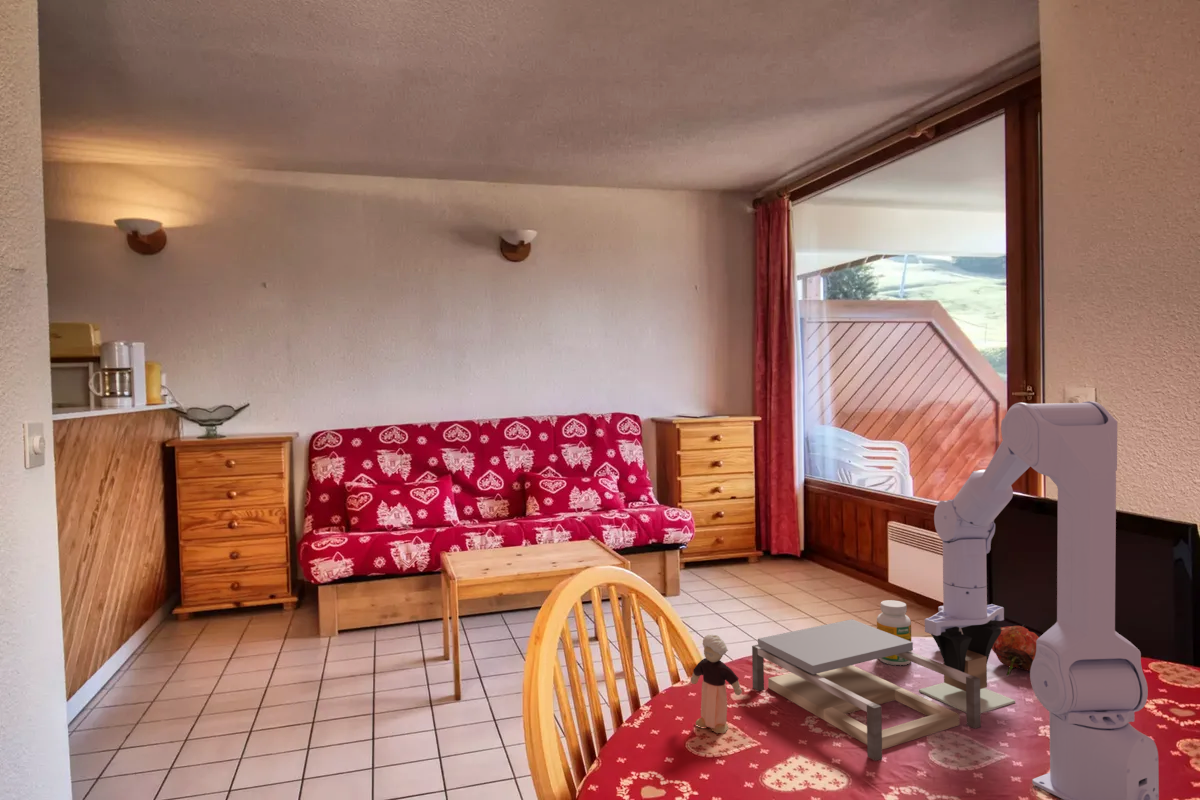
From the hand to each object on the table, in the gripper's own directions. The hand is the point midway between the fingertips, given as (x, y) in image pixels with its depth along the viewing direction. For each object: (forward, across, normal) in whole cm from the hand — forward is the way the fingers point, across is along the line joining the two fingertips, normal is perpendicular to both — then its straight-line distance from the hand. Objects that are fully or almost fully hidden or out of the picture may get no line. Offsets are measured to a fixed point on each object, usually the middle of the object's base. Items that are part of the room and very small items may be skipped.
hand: (965, 675), depth 104 cm
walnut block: (+2, 0, 0) cm, 2 cm away
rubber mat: (+3, 0, 0) cm, 3 cm away
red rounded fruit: (+3, -16, -3) cm, 17 cm away
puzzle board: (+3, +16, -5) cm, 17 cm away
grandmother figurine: (+3, +38, -9) cm, 39 cm away
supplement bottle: (+3, -2, -15) cm, 16 cm away
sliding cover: (-4, +16, -10) cm, 19 cm away
